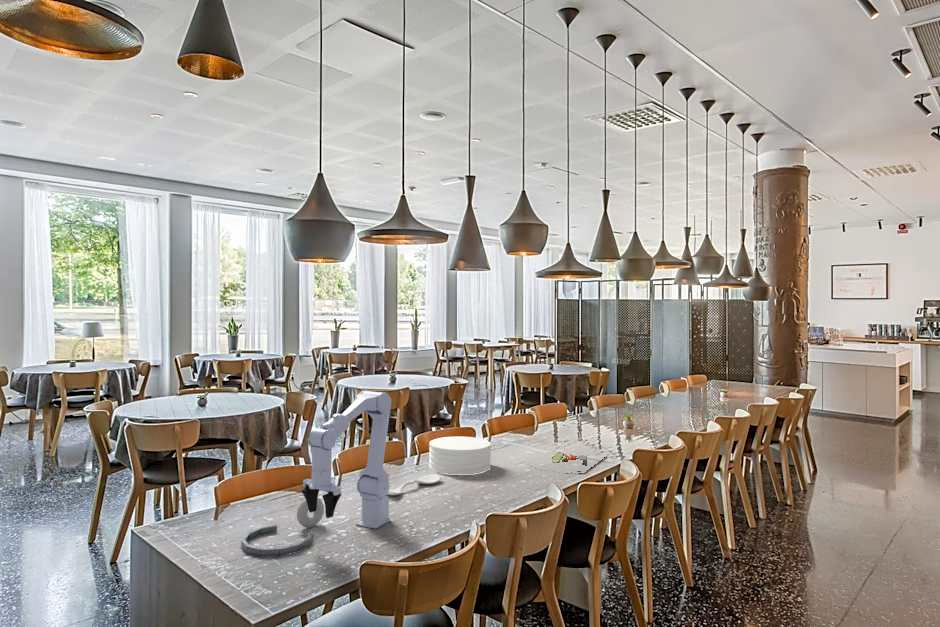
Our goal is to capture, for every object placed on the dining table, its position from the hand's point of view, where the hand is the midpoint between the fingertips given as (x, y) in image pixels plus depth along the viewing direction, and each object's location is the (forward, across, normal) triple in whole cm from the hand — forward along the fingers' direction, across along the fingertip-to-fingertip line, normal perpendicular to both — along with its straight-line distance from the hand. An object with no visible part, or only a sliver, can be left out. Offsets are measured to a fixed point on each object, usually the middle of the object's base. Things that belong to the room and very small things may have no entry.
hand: (321, 514), depth 178 cm
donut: (+10, -16, +9) cm, 21 cm away
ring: (+10, -12, -7) cm, 17 cm away
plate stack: (+11, -22, +99) cm, 102 cm away
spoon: (+11, -17, +62) cm, 65 cm away
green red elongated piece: (+11, +12, +142) cm, 143 cm away
